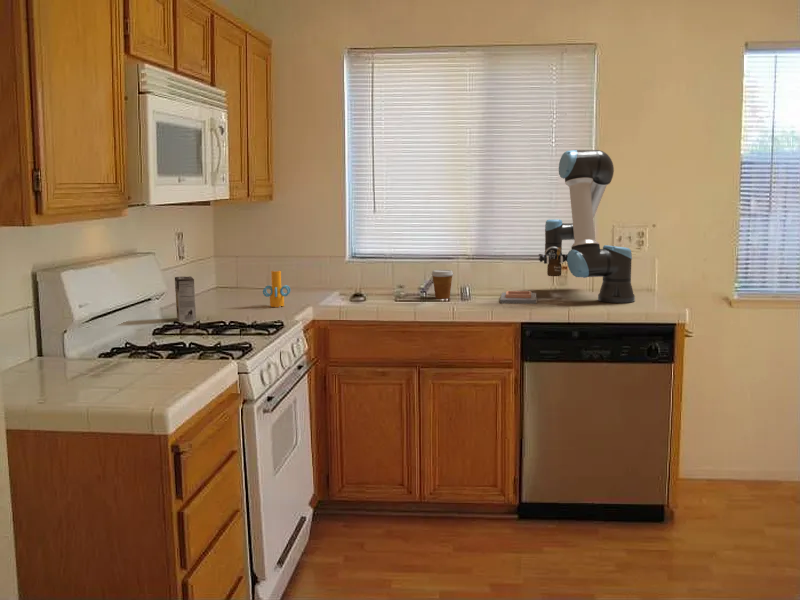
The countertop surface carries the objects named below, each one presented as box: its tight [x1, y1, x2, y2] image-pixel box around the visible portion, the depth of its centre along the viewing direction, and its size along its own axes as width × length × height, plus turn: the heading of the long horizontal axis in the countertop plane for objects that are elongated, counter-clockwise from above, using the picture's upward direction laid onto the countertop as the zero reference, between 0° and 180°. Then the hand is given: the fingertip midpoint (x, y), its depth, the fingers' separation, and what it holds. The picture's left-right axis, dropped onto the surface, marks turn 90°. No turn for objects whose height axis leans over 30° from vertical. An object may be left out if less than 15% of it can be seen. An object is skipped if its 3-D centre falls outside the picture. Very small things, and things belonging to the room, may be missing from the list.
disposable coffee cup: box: [431, 269, 454, 300], centre depth 384 cm, size 10×10×12 cm
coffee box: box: [174, 276, 197, 322], centre depth 334 cm, size 9×6×16 cm
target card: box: [499, 290, 537, 305], centre depth 376 cm, size 15×22×3 cm
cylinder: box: [262, 269, 291, 308], centre depth 364 cm, size 12×10×15 cm
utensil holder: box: [546, 247, 563, 277], centre depth 372 cm, size 6×6×12 cm
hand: (554, 260), depth 367 cm, fingers closed on utensil holder, 5 cm apart
